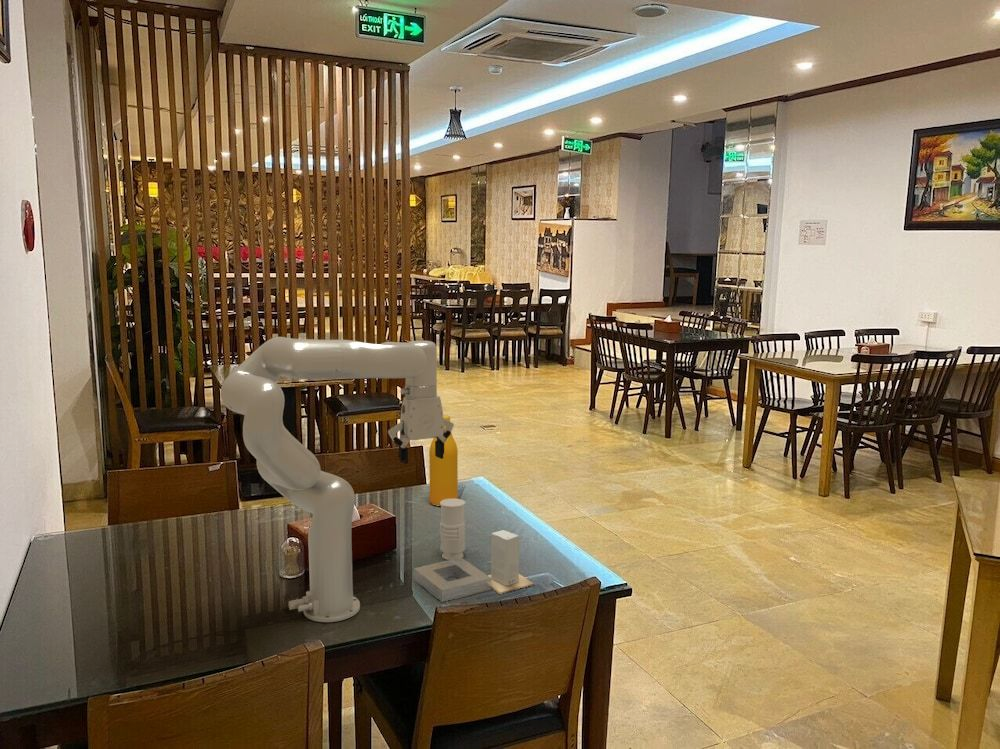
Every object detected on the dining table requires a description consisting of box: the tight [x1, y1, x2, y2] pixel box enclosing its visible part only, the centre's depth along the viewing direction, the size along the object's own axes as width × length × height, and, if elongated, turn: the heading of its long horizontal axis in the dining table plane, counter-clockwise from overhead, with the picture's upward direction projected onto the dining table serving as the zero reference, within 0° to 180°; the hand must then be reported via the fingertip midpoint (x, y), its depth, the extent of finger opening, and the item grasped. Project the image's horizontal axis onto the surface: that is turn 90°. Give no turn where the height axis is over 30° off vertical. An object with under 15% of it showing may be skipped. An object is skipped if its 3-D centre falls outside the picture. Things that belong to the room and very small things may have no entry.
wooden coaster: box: [488, 573, 535, 595], centre depth 189 cm, size 10×10×1 cm
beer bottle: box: [428, 414, 459, 506], centre depth 248 cm, size 9×9×29 cm
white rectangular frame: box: [413, 557, 492, 603], centre depth 188 cm, size 14×15×3 cm
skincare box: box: [490, 529, 520, 586], centre depth 188 cm, size 6×4×12 cm
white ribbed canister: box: [439, 498, 466, 561], centre depth 205 cm, size 7×7×15 cm
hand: (421, 460), depth 188 cm, fingers open, 9 cm apart
